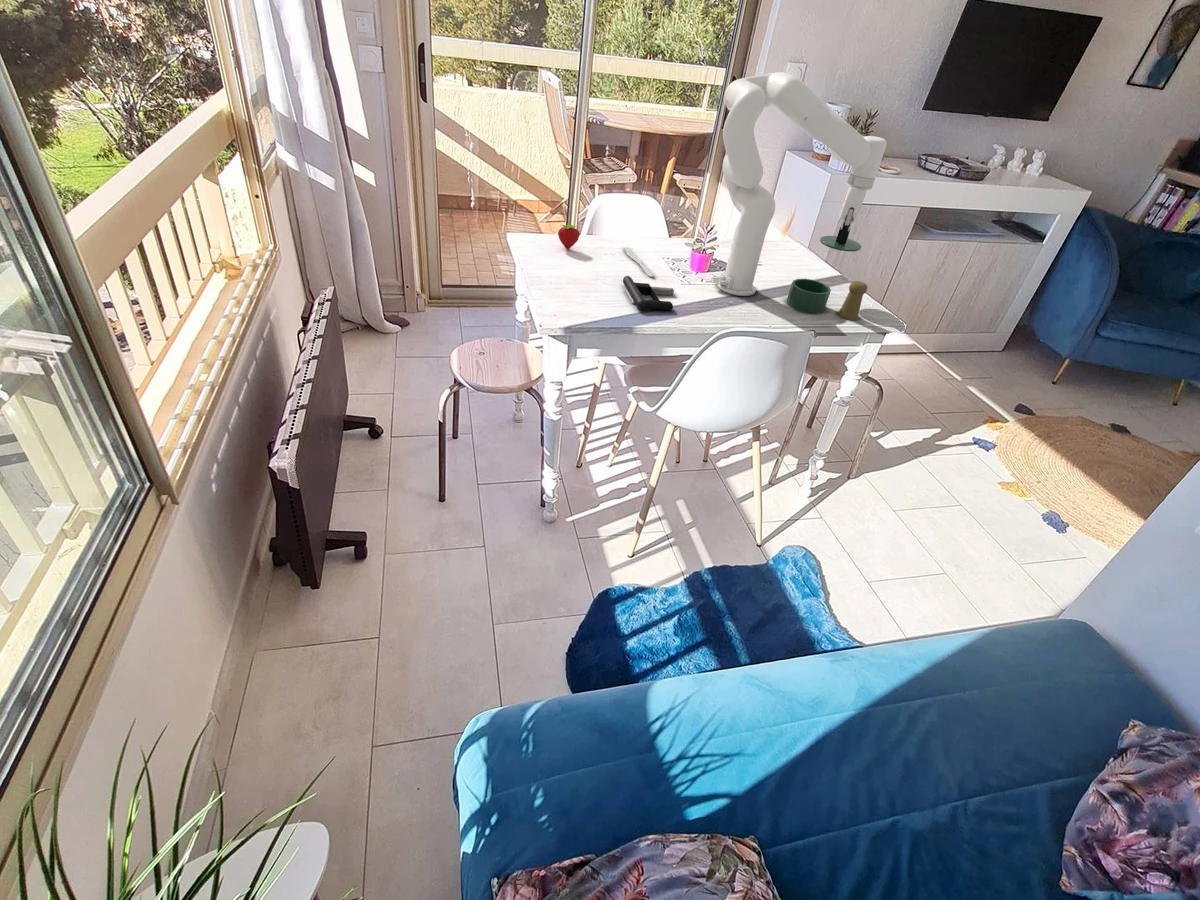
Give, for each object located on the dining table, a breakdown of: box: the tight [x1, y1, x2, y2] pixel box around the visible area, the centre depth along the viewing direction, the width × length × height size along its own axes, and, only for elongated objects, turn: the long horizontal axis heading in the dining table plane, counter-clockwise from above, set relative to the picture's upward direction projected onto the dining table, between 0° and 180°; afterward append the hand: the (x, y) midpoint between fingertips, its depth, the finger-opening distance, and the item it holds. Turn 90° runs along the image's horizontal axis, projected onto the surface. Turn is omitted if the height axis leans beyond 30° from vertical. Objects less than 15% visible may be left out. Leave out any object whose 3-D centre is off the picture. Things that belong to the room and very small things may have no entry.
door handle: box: [622, 275, 675, 312], centre depth 191 cm, size 3×20×16 cm
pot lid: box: [819, 230, 862, 252], centre depth 201 cm, size 13×13×6 cm
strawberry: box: [557, 221, 581, 250], centre depth 216 cm, size 6×8×10 cm
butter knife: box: [624, 247, 655, 278], centre depth 216 cm, size 1×27×3 cm
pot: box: [786, 278, 832, 314], centre depth 199 cm, size 12×12×6 cm
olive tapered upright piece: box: [837, 280, 868, 321], centre depth 195 cm, size 6×6×11 cm
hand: (841, 241), depth 202 cm, fingers closed on pot lid, 2 cm apart
